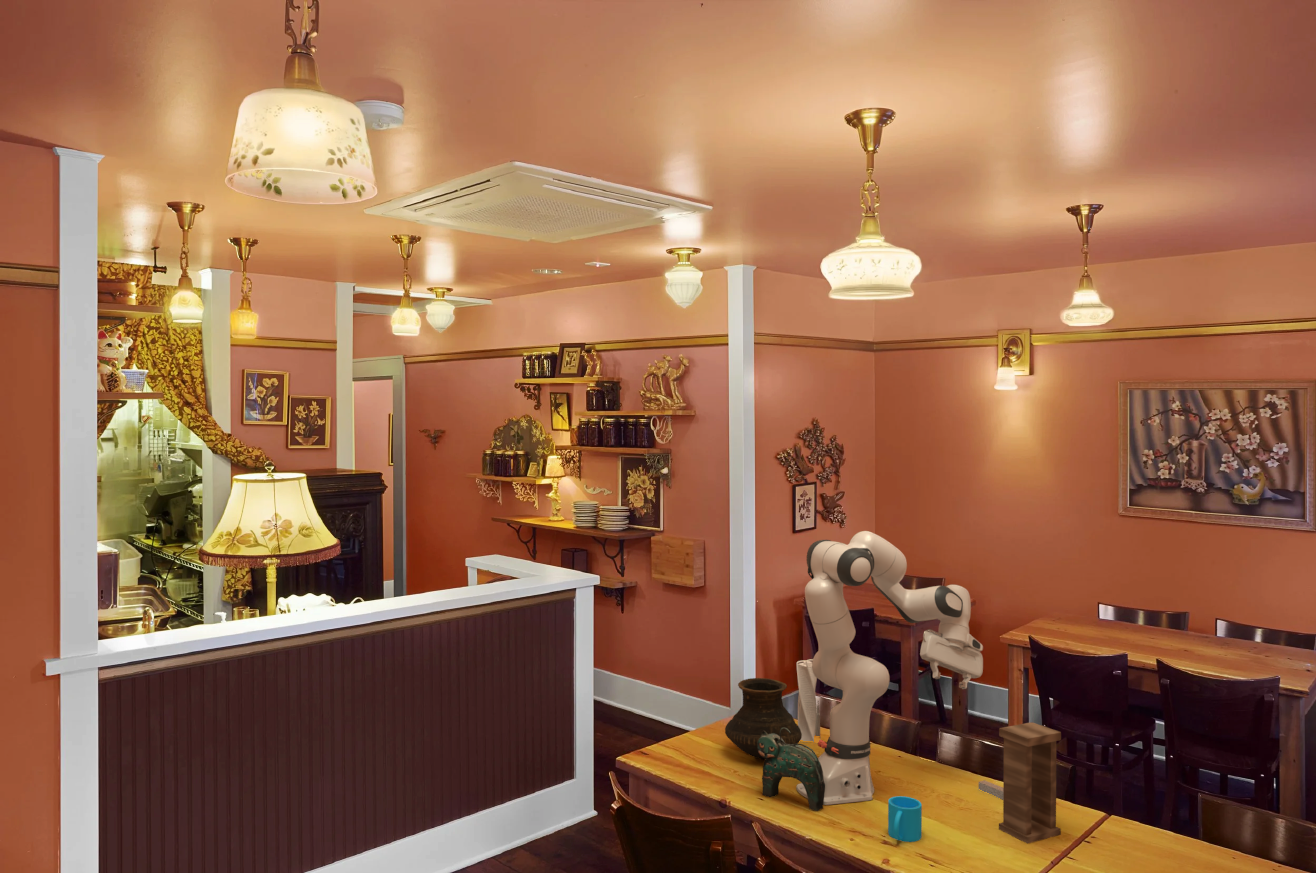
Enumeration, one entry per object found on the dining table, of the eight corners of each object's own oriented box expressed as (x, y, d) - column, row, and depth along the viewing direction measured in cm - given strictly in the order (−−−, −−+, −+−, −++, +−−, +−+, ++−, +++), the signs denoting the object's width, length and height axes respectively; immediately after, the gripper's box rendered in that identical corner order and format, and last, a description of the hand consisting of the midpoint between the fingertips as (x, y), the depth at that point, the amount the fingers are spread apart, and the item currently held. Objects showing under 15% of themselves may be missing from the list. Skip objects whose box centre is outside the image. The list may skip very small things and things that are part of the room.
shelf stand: (1027, 843, 217) (1027, 738, 217) (998, 829, 225) (999, 728, 225) (1060, 834, 222) (1061, 732, 223) (1031, 820, 230) (1031, 722, 231)
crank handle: (978, 790, 251) (978, 771, 251) (995, 785, 255) (995, 766, 255) (1030, 811, 236) (1030, 791, 237) (1047, 806, 240) (1047, 786, 240)
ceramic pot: (711, 756, 276) (711, 685, 276) (750, 737, 295) (750, 670, 295) (778, 774, 261) (778, 699, 262) (814, 752, 281) (814, 682, 281)
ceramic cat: (755, 794, 246) (755, 723, 246) (767, 788, 251) (768, 718, 251) (817, 814, 233) (817, 739, 233) (829, 806, 238) (829, 733, 238)
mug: (893, 825, 227) (893, 793, 227) (925, 832, 222) (925, 800, 223) (879, 842, 217) (879, 809, 217) (911, 850, 212) (912, 817, 212)
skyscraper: (820, 745, 288) (820, 660, 289) (795, 743, 290) (795, 659, 290) (820, 737, 297) (821, 654, 297) (796, 735, 298) (797, 653, 299)
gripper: (931, 625, 258) (926, 670, 252) (987, 647, 263) (984, 692, 256) (918, 629, 264) (913, 673, 257) (973, 650, 268) (970, 695, 261)
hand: (949, 683), depth 257 cm, fingers open, 8 cm apart
